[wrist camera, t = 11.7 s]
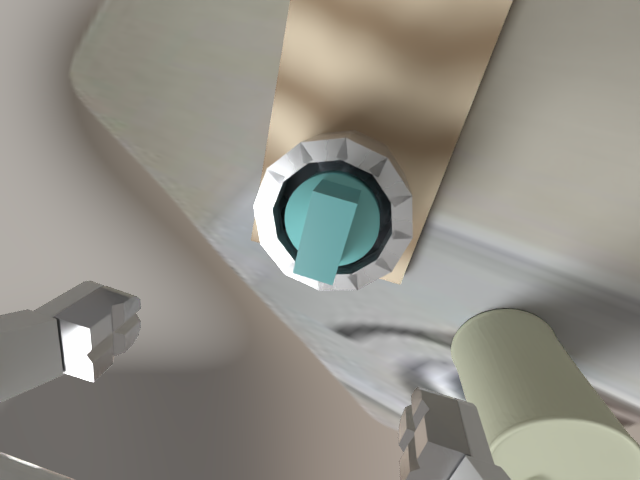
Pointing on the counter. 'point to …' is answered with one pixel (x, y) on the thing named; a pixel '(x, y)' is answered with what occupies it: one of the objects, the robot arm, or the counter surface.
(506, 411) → the can
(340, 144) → the white thick faceted ring
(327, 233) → the teal disc with post
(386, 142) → the base plate
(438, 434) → the robot arm
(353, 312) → the counter surface
